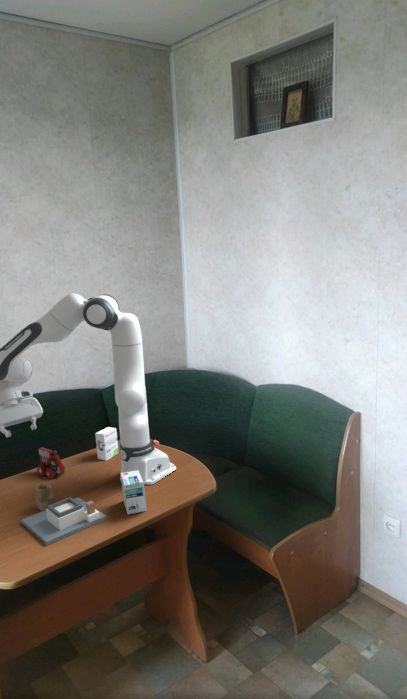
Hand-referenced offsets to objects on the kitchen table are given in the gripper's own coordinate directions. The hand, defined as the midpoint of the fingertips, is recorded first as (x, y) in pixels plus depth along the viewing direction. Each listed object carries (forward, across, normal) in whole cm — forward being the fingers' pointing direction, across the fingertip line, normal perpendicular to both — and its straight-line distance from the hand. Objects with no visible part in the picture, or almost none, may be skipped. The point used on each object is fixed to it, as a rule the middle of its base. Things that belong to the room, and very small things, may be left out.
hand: (22, 432), depth 191 cm
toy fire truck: (+9, +14, +26) cm, 31 cm away
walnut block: (+26, 0, +8) cm, 28 cm away
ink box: (+11, +39, +24) cm, 47 cm away
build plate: (+36, 0, -2) cm, 36 cm away
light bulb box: (+42, +22, -8) cm, 49 cm away
